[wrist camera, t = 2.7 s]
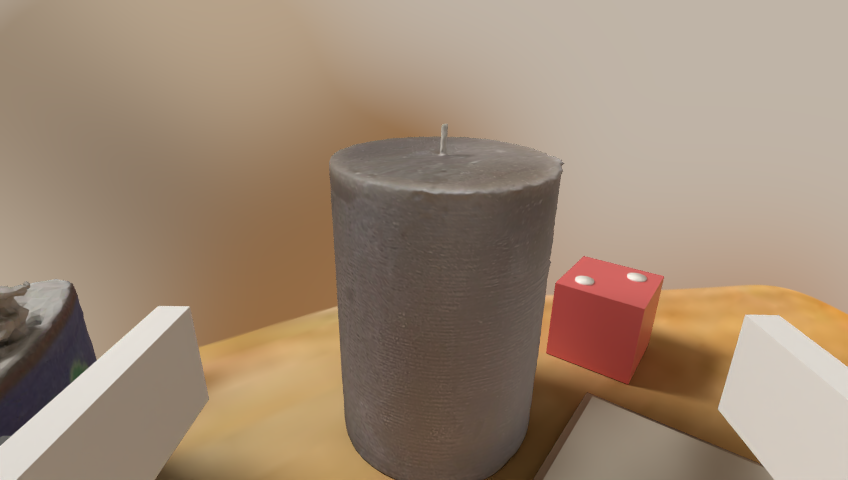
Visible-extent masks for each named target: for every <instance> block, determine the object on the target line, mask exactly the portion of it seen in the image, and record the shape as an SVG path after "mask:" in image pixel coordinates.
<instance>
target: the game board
mask: <svg viewBox="0 0 848 480" xmlns="http://www.w3.org/2000/svg"><path fill="white" fill-rule="evenodd" d="M533 480H774V479H773V477H772V476H771V475H770V474H769V472H768V471H767V470H766V469H765V467H764V466H763V465H762V464H759V463H757V462H754V461H752V460H750V459H747V458H745V457H742V456H740V455H738V454H735V453H733V452H730V451H728V450H725V449H723V448H721V447H718V446H716V445H713V444H711V443H709V442H706V441H704V440H701V439H699V438H697V437H694V436H692V435H689V434H687V433H684V432H682V431H680V430H677V429H675V428H672V427H670V426H668V425H665V424H663V423H660V422H658V421H655V420H653V419H651V418H648V417H646V416H643V415H641V414H639V413H636V412H634V411H631V410H629V409H626V408H624V407H622V406H619V405H617V404H614V403H612V402H610V401H607V400H605V399H602V398H600V397H597V396H595V395H593V394H590V393H588V392H587V393H586V394H585V396H584V398H583V399H582V401H581V403H580V404H579V406H578V407H577V409H576V411H575V412H574V414H573V416H572V417H571V419H570V420H569V422H568V424H567V425H566V427H565V428H564V430H563V432H562V433H561V435H560V437H559V438H558V440H557V441H556V443H555V445H554V446H553V448H552V450H551V451H550V453H549V454H548V456H547V458H546V459H545V461H544V463H543V464H542V466H541V467H540V469H539V471H538V472H537V474H536V476H535V477H534V479H533Z"/></svg>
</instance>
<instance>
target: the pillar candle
mask: <svg viewBox="0 0 848 480" xmlns="http://www.w3.org/2000/svg"><path fill="white" fill-rule="evenodd" d="M447 129H448V124H443V125H442V129H441V133H442V135H441V137H408V138H393V139H386V140H379V141H372V142H367V143H362V144H356V145H352V146H350V147H348V148H345V149H342V150H339V151H338V152H336V153H335V154H334V155H333V156H332V157H331V159H330V162H329V170H330V183H331V202H332V217H333V230H334V249H335V264H336V280H337V299H338V318H339V332H340V351H341V366H342V381H343V394H344V410H345V421H346V427H347V432H348V435H349V437H350V440H351V442H352V444H353V446H354V447H355V449H356V451H357V452H358V453H359V454H360V455H361V457H362V458H363V459H364V460H366V461H367V462H368V463H369V464H371V466H373V467H374V468H375V469H377V470H379V471H380V472H382V473H384V474H385V475H387V476H390V477H392V478H394V479H396V480H484V479H486V478H488V477H490V476H491V475H493V474H494V473H496V472H497V471H498V470H499V469H501V468H502V467H503V466H504V464H506V462H507V461H508V460H509V459H510V458H511V457H512V456H513V455H514V454H515V453H516V452H517V450H518V449H519V447H520V446H521V444H522V442H523V440H524V438H525V435H526V432H527V428H528V424H529V415H530V408H531V402H532V393H533V385H534V377H535V371H536V365H537V358H538V351H539V344H540V336H541V325H542V318H543V311H544V303H545V295H546V286H547V277H548V272H549V267H550V263H551V262H550V260H549V259H550V255H551V248H552V243H553V235H554V225H555V215H556V210H557V202H558V194H559V186H560V179H561V174H562V172H563V170H562V167H561V166H562V165H563V164H564V163H563V162H562V160H560V159H559V158H557V157H554V156H548V155H547V154H546V153H543V152H541V151H537V150H535V149H532V148H529V147H524V146H520V145H517V144H511V143H506V142H500V141H495V140H488V139H476V138H468V137H447Z"/></svg>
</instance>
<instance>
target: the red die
mask: <svg viewBox="0 0 848 480" xmlns="http://www.w3.org/2000/svg"><path fill="white" fill-rule="evenodd" d="M663 279H664V276H661V275H656V274H652V273H649V272H644V271H641V270H636V269H633V268H629V267H625V266H621V265H617V264H613V263H609V262H605V261H601V260H597V259H593V258H589V257H585V256H583V257H582V258H581V259H580V260H579V261H578V262H577V263H576V264H575V265H574V266H573V267H572V268H571V269H570V270H569V271H568V272H567V273H566V274H565V275H563V276H562V277H561V278H560V279H559V280H558V281H557V282H556V283H555V291H554V299H553V306H552V314H551V321H550V329H549V336H548V344H547V351H546V353H548V354H550V355H553V356H556V357H558V358H561V359H563V360H566V361H569V362H571V363H574V364H576V365H579V366H581V367H584V368H587V369H589V370H592V371H594V372H597V373H600V374H602V375H605V376H607V377H610V378H613V379H615V380H618V381H620V382H623V383H626V384H629V382H630V380H631V378H632V376H633V374H634V372H635V370H636V368H637V366H638V364H639V362H640V360H641V358H642V356H643V354H644V352H645V350H646V348H647V347H648V344H649V340H650V336H651V331H652V327H653V323H654V318H655V314H656V310H657V305H658V301H659V297H660V292H661V287H662V283H663Z"/></svg>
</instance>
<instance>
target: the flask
mask: <svg viewBox="0 0 848 480" xmlns="http://www.w3.org/2000/svg"><path fill="white" fill-rule="evenodd" d="M96 361H97V360H96V356H95V353H94V349H93V345H92V342H91V340H90V337H89V334H88V331H87V328H86V325H85V321H84V318H83V311H82V309H81V306H80V304H79V300H78V295H77V293H76V290H75V288H74V286H73V284H72V283H70V282H69V281H64V280H58V279H54V280H48V281H42V282H36V283H31V284H29V283H28V282H27V281H26V282H24V284H23V285H18V286H15V287H8V286H0V437H2V436H12V435H13V434H14V433H15V432H17V431H18V430H19V429H20V428H21V427H22V426H23V425H24V424H26V423H27V422H28V421H29V420H30V419H31V418H32V417H34V416H35V415H36V414H37V413H38V412H39V411H40V410H41V409H43V408H44V407H45V406H46V405H47V404H48V403H49V402H50V401H52V400H53V399H54V398H55V397H56V396H57V395H58V394H60V393H61V392H62V391H63V390H64V389H65V388H66V387H67V386H69V385H70V384H71V383H72V382H73V381H74V380H75V379H76V378H78V377H79V376H80V375H81V374H82V373H83V372H84V371H86V370H87V369H88V368H89V367H90V366H91V365H92V364H93V363H95V362H96Z"/></svg>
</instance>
